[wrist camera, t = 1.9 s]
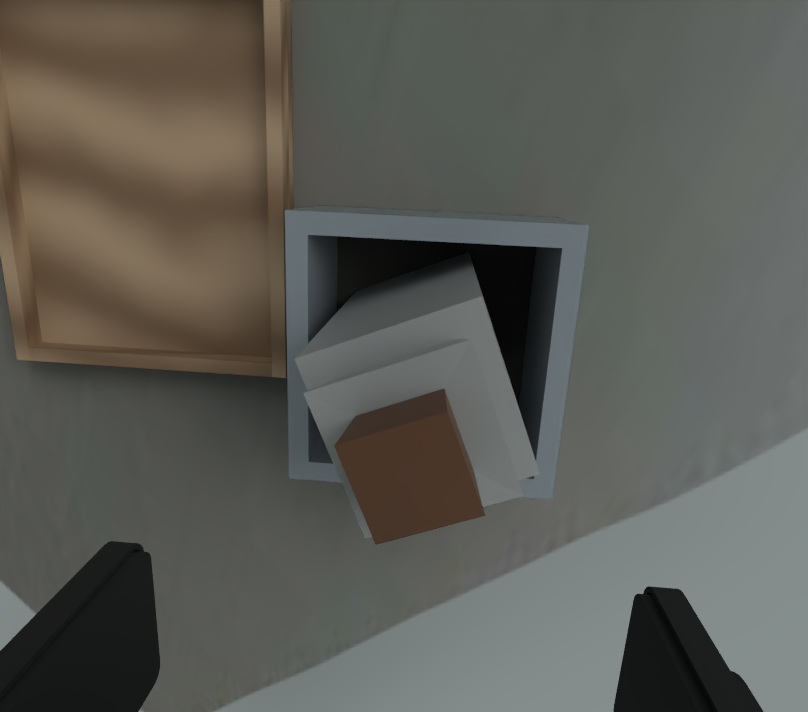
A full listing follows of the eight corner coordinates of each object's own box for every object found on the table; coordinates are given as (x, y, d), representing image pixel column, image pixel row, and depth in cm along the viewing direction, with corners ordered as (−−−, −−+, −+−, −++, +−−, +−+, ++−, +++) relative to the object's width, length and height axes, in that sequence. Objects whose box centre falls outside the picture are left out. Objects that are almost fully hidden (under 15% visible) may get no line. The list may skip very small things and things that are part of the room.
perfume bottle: (504, 362, 33) (564, 552, 16) (396, 396, 34) (341, 607, 17) (468, 251, 31) (491, 328, 14) (356, 291, 32) (250, 406, 15)
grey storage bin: (320, 205, 31) (284, 209, 24) (558, 217, 30) (589, 225, 24) (319, 422, 35) (288, 478, 28) (532, 438, 34) (552, 499, 27)
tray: (-13, -21, 29) (-46, -36, 27) (291, -14, 28) (279, -28, 26) (40, 350, 35) (17, 359, 33) (295, 367, 34) (286, 378, 32)
